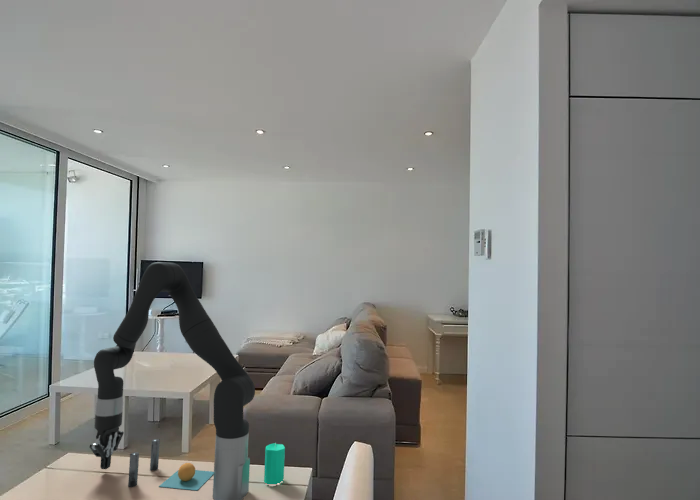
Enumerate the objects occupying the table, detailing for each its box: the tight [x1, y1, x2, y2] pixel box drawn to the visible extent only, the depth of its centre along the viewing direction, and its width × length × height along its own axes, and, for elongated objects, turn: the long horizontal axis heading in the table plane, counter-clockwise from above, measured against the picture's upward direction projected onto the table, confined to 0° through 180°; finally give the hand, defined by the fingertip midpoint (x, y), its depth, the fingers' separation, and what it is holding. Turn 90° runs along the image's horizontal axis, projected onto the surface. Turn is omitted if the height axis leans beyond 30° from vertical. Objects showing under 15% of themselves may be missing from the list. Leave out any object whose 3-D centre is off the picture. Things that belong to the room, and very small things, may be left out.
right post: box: [149, 438, 161, 472], centre depth 138 cm, size 2×2×9 cm
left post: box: [127, 451, 140, 488], centre depth 127 cm, size 2×2×9 cm
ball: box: [177, 462, 196, 481], centre depth 131 cm, size 5×5×5 cm
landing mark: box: [158, 469, 214, 492], centre depth 131 cm, size 12×12×1 cm
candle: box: [263, 441, 286, 484], centre depth 132 cm, size 6×6×12 cm
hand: (105, 468), depth 134 cm, fingers closed
